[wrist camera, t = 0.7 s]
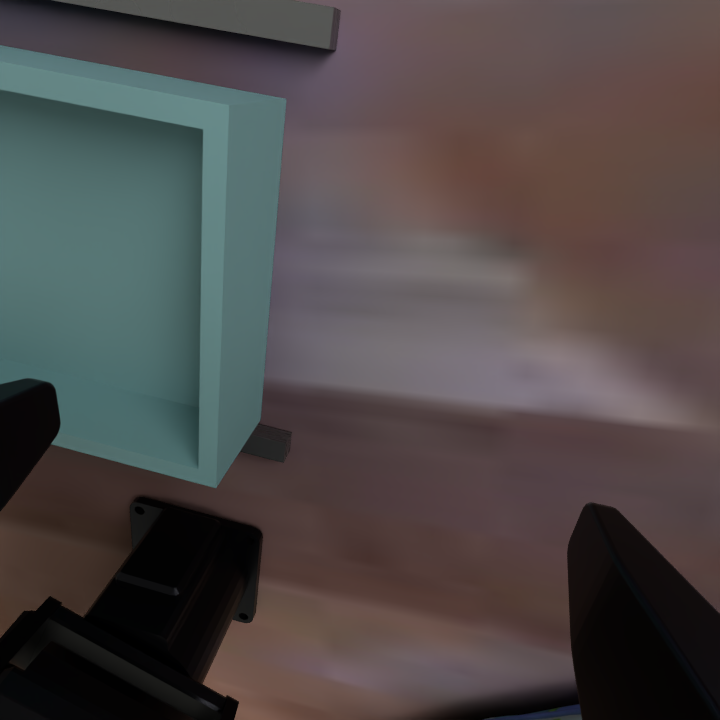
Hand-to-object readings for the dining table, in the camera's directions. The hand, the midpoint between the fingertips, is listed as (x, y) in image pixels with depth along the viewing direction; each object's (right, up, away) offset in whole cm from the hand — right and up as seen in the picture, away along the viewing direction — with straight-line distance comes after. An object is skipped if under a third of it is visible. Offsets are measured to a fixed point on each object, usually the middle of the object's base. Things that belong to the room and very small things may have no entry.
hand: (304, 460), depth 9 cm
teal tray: (-10, +7, +11) cm, 16 cm away
